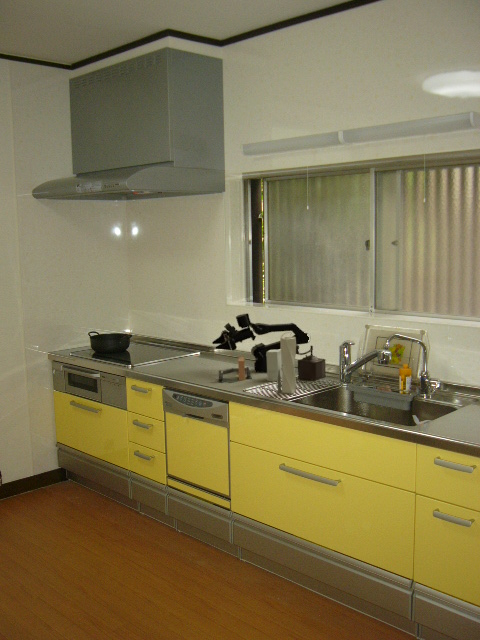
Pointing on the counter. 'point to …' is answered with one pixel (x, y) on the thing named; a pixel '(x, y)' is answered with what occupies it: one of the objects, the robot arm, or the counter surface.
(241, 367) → the orange rectangular frame
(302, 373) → the brown coffee grinder
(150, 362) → the counter surface
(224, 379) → the pad
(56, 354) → the counter surface
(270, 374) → the skincare box
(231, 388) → the counter surface
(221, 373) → the gray arch
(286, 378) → the skyscraper
